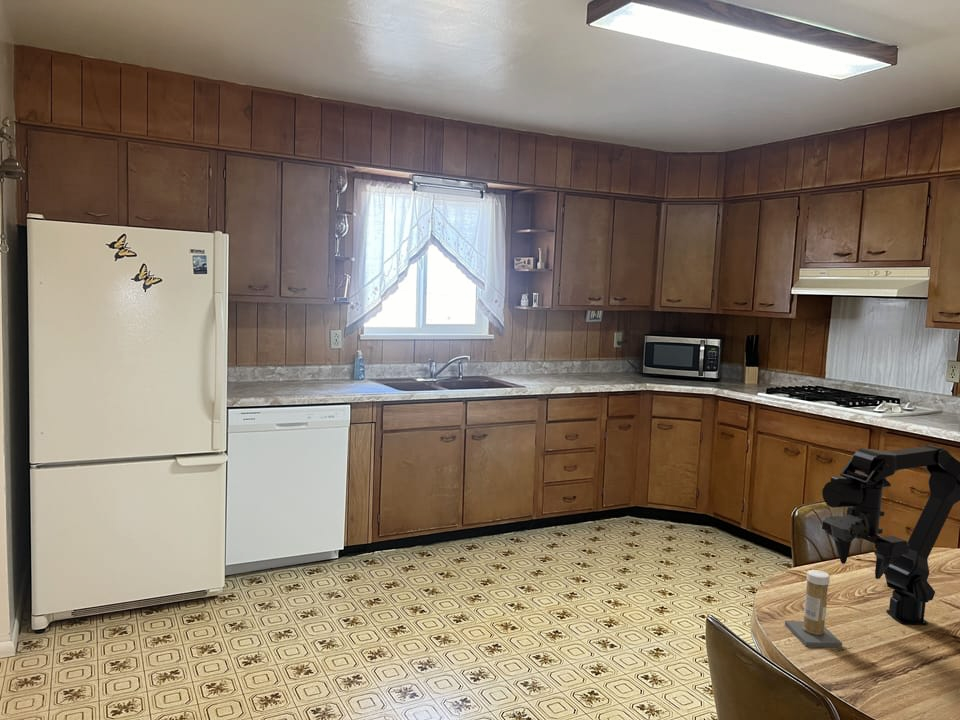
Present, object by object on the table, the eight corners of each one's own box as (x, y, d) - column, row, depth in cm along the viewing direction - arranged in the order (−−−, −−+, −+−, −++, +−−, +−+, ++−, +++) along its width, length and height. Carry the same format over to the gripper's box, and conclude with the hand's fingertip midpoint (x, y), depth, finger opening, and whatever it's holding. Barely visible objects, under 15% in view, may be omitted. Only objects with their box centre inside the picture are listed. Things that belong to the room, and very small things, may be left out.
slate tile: (818, 625, 165) (819, 621, 165) (841, 647, 155) (842, 643, 155) (784, 624, 165) (785, 620, 165) (805, 646, 155) (806, 642, 155)
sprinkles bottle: (828, 634, 159) (834, 576, 158) (812, 636, 158) (817, 577, 156) (813, 625, 163) (819, 568, 162) (797, 627, 162) (802, 569, 160)
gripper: (807, 495, 169) (801, 559, 171) (877, 520, 152) (870, 591, 154) (842, 492, 174) (836, 555, 175) (914, 516, 156) (906, 585, 158)
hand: (859, 570), depth 165 cm, fingers open, 9 cm apart
